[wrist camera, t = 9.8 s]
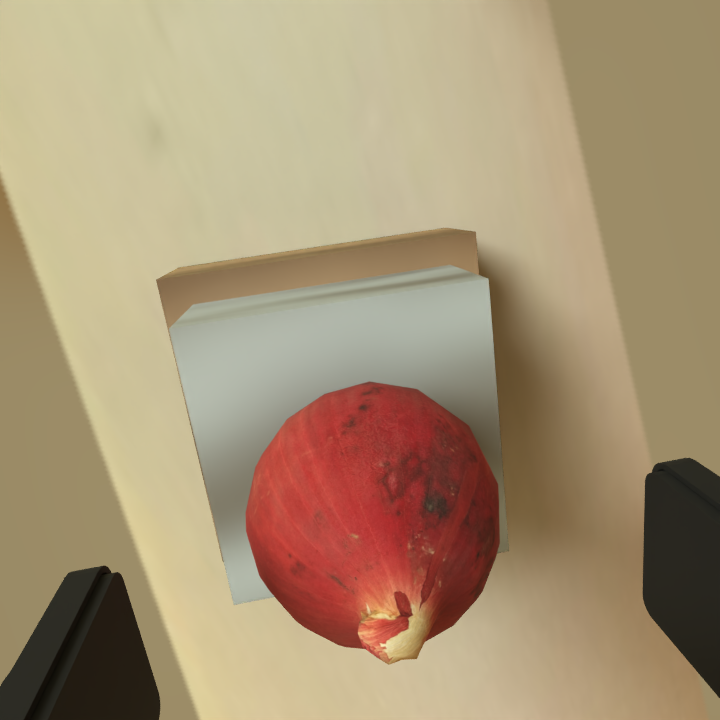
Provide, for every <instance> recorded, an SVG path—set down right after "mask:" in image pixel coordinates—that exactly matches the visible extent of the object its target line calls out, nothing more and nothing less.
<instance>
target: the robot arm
mask: <svg viewBox="0 0 720 720" xmlns="http://www.w3.org/2000/svg"><path fill="white" fill-rule="evenodd" d="M643 600H644V604H645V606H646V609H647V611H648V613H649V614H650V616H651V617H652V619H653V620H654V621H655V622H656V623H657V624H658V626H659V627H660V628H661V629H662V630H663V632H664V633H665V634H666V635H667V636H668V637H669V639H670V640H671V641H672V642H673V643H674V645H675V646H676V647H677V648H678V649H679V651H680V652H681V653H682V654H683V655H684V656H685V658H686V659H687V660H688V661H689V662H690V664H691V665H692V666H693V667H694V668H695V669H696V671H697V672H698V673H699V674H700V675H701V677H702V678H703V679H704V680H705V681H706V682H707V684H708V685H709V686H710V687H711V688H712V690H713V691H714V692H715V693H716V694H717V696H718V697H719V698H720V477H719V476H717V475H716V474H715V473H713V472H712V471H710V470H709V469H707V468H706V467H704V466H703V465H701V464H700V463H698V462H697V461H695V460H693V459H691V458H683V459H678V460H672V461H667V462H662V463H658V464H656V465H655V466H654V468H653V470H652V473H649V474H648V475H647V476H646V480H645V512H644V559H643ZM159 715H160V697H159V692H158V689H157V686H156V682H155V680H154V676H153V673H152V670H151V667H150V663H149V660H148V657H147V654H146V650H145V647H144V644H143V641H142V638H141V635H140V631H139V628H138V625H137V622H136V619H135V615H134V612H133V609H132V606H131V603H130V600H129V596H128V593H127V590H126V586H125V583H124V580H123V578H122V576H121V574H120V573H118V572H116V573H111V571H110V570H109V568H108V567H106V566H100V567H94V568H89V569H84V570H78V571H73V572H70V573H68V574H67V576H66V577H65V578H64V580H63V582H62V584H61V585H60V587H59V589H58V590H57V592H56V594H55V596H54V597H53V599H52V601H51V602H50V604H49V606H48V608H47V609H46V611H45V613H44V615H43V617H42V618H41V620H40V621H39V623H38V625H37V627H36V629H35V630H34V632H33V634H32V635H31V637H30V639H29V641H28V642H27V644H26V646H25V648H24V649H23V651H22V653H21V654H20V656H19V658H18V660H17V661H16V663H15V665H14V667H13V668H12V670H11V671H10V673H9V674H8V676H7V677H6V678H5V680H4V681H3V683H2V684H1V686H0V720H159Z"/></svg>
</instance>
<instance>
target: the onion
mask: <svg viewBox="0 0 720 720" xmlns="http://www.w3.org/2000/svg"><path fill="white" fill-rule="evenodd" d="M245 516H246V533H247V536H248V540H249V543H250V546H251V550H252V553H253V556H254V560H255V563H256V567H257V570H258V573H259V576H260V578H261V579H262V581H263V582H264V584H265V585H266V587H267V588H268V590H269V591H270V592H271V593H272V594H273V595H274V597H275V598H276V599H277V600H278V601H279V602H280V603H281V604H282V606H283V607H284V608H285V609H286V610H287V611H288V612H289V614H290V615H291V616H292V617H293V618H294V619H295V620H296V621H297V622H298V623H300V624H301V625H302V626H304V627H305V628H307V629H309V630H310V631H312V632H314V633H316V634H318V635H320V636H322V637H324V638H326V639H328V640H330V641H332V642H334V643H335V644H337V645H340V646H344V647H351V648H361V649H366V650H367V651H369V652H370V653H372V654H373V655H374V656H376V657H377V658H379V659H381V660H382V661H384V662H385V663H387V664H392V663H395V662H397V661H400V660H404V659H417V657H418V655H419V652H420V650H421V648H422V646H423V644H424V642H425V641H427V640H429V639H431V638H432V637H434V636H436V635H438V634H439V633H441V632H443V631H445V630H446V629H448V628H450V627H452V626H453V625H454V624H455V623H456V622H457V621H458V620H459V618H460V617H461V616H462V615H463V614H464V613H465V612H466V611H467V610H468V609H469V607H470V606H471V605H472V604H473V603H474V602H475V601H476V600H477V598H478V597H479V595H480V594H481V593H482V591H483V589H484V586H485V584H486V581H487V578H488V576H489V573H490V571H491V568H492V565H493V563H494V560H495V558H496V555H497V551H498V548H499V544H500V524H499V491H498V483H497V481H496V479H495V477H494V475H493V472H492V470H491V468H490V466H489V464H488V462H487V460H486V458H485V456H484V454H483V452H482V450H481V448H480V446H479V444H478V442H477V440H476V438H475V436H474V434H473V432H472V430H471V428H470V426H469V425H468V424H466V423H465V422H463V421H462V420H461V419H459V418H458V417H456V416H455V415H453V414H452V413H451V412H449V411H448V410H446V409H445V408H444V407H442V406H441V405H439V404H438V403H436V402H435V401H434V400H432V399H431V398H429V397H428V396H427V395H425V394H424V393H422V392H421V391H419V390H418V389H414V388H408V387H402V386H395V385H389V384H383V383H376V382H370V381H369V382H365V383H362V384H358V385H355V386H351V387H348V388H344V389H340V390H337V391H333V392H330V393H326V394H324V395H322V396H321V397H319V398H318V399H316V400H315V401H313V402H312V403H310V404H309V405H307V406H306V407H304V408H303V409H301V410H300V411H298V412H297V413H295V414H294V415H292V416H291V417H289V418H288V419H287V420H286V421H285V423H284V424H283V425H282V427H281V428H280V430H279V431H278V433H277V434H276V435H275V437H274V438H273V440H272V441H271V442H270V444H269V445H268V447H267V448H266V450H265V451H264V452H263V454H262V456H261V457H260V459H259V461H258V463H257V465H256V467H255V471H254V476H253V480H252V485H251V490H250V494H249V499H248V504H247V508H246V513H245Z"/></svg>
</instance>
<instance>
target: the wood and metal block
mask: <svg viewBox="0 0 720 720" xmlns="http://www.w3.org/2000/svg"><path fill="white" fill-rule="evenodd" d="M156 281H157V285H158V289H159V294H160V298H161V302H162V306H163V311H164V315H165V319H166V323H167V327H168V332H169V336H170V340H171V344H172V349H173V353H174V357H175V361H176V366H177V370H178V374H179V378H180V382H181V387H182V391H183V395H184V399H185V404H186V408H187V412H188V416H189V420H190V425H191V429H192V433H193V437H194V442H195V446H196V450H197V454H198V458H199V463H200V467H201V471H202V475H203V480H204V484H205V488H206V492H207V497H208V501H209V505H210V509H211V513H212V518H213V522H214V526H215V530H216V535H217V539H218V543H219V547H220V551H221V556H222V560H223V562H224V565H225V569H226V573H227V578H228V582H229V586H230V590H231V594H232V599H233V603H234V605H236V604H241V603H247V602H252V601H257V600H262V599H267V598H272V597H274V595H273V594H272V593H271V592H270V591H269V590H268V588H267V587H266V585H265V584H264V582H263V581H262V579H261V578H260V576H259V573H258V570H257V567H256V563H255V560H254V556H253V553H252V550H251V546H250V543H249V540H248V536H247V533H246V516H245V513H246V508H247V504H248V499H249V494H250V490H251V485H252V480H253V476H254V471H255V467H256V465H257V463H258V461H259V459H260V457H261V456H262V454H263V452H264V451H265V450H266V448H267V447H268V445H269V444H270V442H271V441H272V440H273V438H274V437H275V435H276V434H277V433H278V431H279V430H280V428H281V427H282V425H283V424H284V423H285V421H286V420H287V419H288V418H289V417H291V416H292V415H294V414H295V413H297V412H298V411H300V410H301V409H303V408H304V407H306V406H307V405H309V404H310V403H312V402H313V401H315V400H316V399H318V398H319V397H321V396H322V395H324V394H326V393H330V392H333V391H337V390H340V389H344V388H348V387H351V386H355V385H358V384H362V383H365V382H369V381H370V382H376V383H383V384H389V385H395V386H402V387H408V388H414V389H418V390H419V391H421V392H422V393H424V394H425V395H427V396H428V397H429V398H431V399H432V400H434V401H435V402H436V403H438V404H439V405H441V406H442V407H444V408H445V409H446V410H448V411H449V412H451V413H452V414H453V415H455V416H456V417H458V418H459V419H461V420H462V421H463V422H465V423H466V424H468V425H469V426H470V428H471V430H472V432H473V434H474V436H475V438H476V440H477V442H478V444H479V446H480V448H481V450H482V452H483V454H484V456H485V458H486V460H487V462H488V464H489V466H490V468H491V470H492V472H493V475H494V477H495V479H496V481H497V483H498V491H499V524H500V544H499V548H498V551H497V553H501V552H506V551H509V544H508V531H507V517H506V504H505V491H504V477H503V464H502V451H501V437H500V424H499V411H498V398H497V384H496V371H495V358H494V344H493V331H492V318H491V304H490V291H489V278H486V277H483V276H480V275H479V268H478V255H477V243H476V232H473V231H465V230H458V229H450V228H441V229H435V230H428V231H421V232H414V233H408V234H401V235H394V236H388V237H381V238H374V239H368V240H361V241H354V242H347V243H341V244H334V245H327V246H321V247H314V248H307V249H301V250H294V251H287V252H280V253H274V254H267V255H260V256H254V257H247V258H240V259H233V260H227V261H220V262H213V263H207V264H200V265H193V266H187V267H180V268H177V269H175V270H174V271H172V272H170V273H168V274H166V275H164V276H162V277H161V278H159V279H157V280H156Z"/></svg>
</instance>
